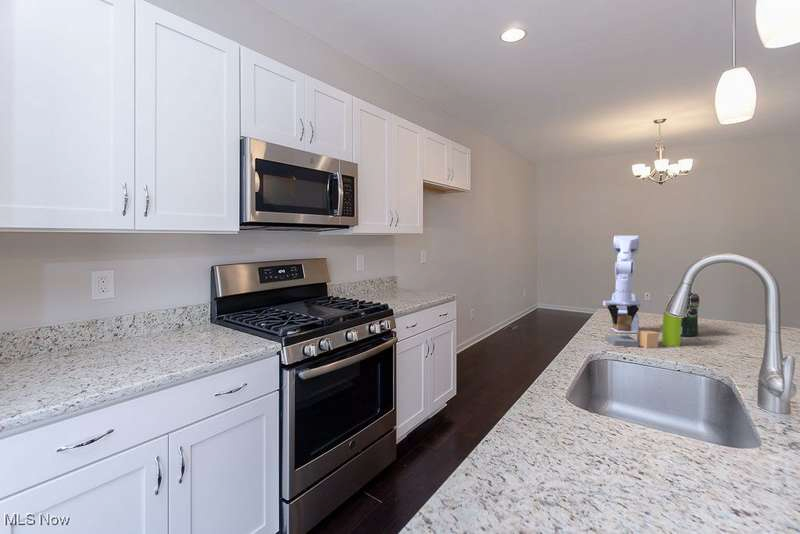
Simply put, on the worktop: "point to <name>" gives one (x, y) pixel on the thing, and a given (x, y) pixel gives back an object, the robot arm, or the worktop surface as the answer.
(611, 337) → the gray slab
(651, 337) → the orange faceted block
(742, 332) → the worktop surface
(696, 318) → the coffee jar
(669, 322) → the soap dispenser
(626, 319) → the walnut cube
